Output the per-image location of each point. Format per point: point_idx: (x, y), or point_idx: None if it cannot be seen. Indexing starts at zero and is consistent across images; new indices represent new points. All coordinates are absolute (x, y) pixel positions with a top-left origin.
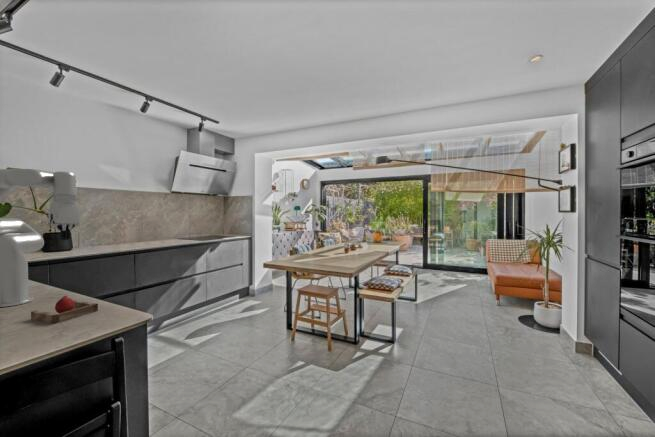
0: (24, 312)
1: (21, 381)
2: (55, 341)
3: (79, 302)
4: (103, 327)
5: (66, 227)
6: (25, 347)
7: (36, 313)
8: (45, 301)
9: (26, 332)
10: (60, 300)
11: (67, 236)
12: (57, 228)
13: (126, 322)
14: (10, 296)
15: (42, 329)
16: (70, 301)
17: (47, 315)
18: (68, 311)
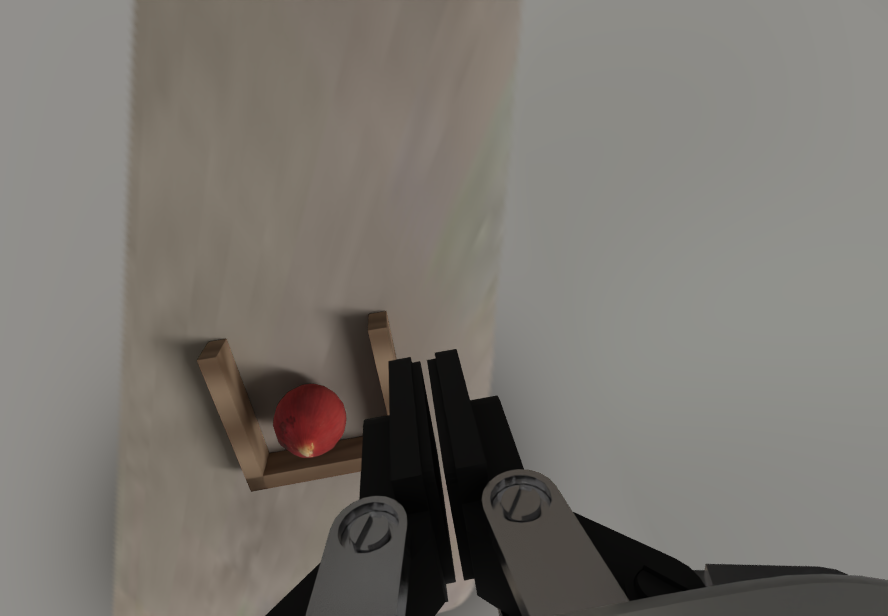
0: (205, 185)
1: None
2: (220, 603)
3: (381, 381)
4: None
5: (519, 569)
6: (156, 591)
7: (212, 392)
8: (340, 5)
9: (173, 482)
10: (286, 447)
11: (442, 492)
12: (279, 605)
13: None
14: None
15: (216, 491)
16: (321, 454)
17: (237, 453)
18: (301, 476)
